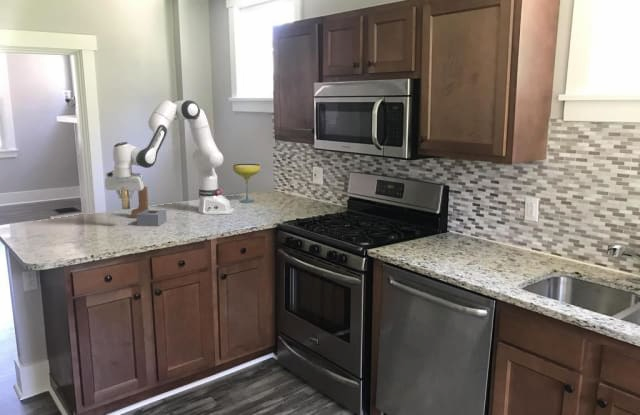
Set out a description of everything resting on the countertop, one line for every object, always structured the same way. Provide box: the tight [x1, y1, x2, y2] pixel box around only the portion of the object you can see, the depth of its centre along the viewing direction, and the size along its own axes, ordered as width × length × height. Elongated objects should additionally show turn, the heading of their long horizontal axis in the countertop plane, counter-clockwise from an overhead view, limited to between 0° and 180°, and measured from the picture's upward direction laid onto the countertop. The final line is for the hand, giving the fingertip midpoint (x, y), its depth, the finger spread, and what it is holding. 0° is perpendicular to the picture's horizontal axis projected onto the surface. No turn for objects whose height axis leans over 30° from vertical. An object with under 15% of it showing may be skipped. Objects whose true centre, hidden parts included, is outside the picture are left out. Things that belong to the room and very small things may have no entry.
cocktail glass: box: [232, 163, 261, 204], centre depth 356 cm, size 18×18×25 cm
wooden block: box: [130, 186, 149, 219], centre depth 305 cm, size 9×4×18 cm, turn 99°
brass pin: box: [120, 187, 131, 210], centre depth 282 cm, size 4×4×12 cm
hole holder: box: [136, 209, 167, 227], centre depth 291 cm, size 12×12×6 cm
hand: (125, 198), depth 282 cm, fingers closed on brass pin, 4 cm apart
